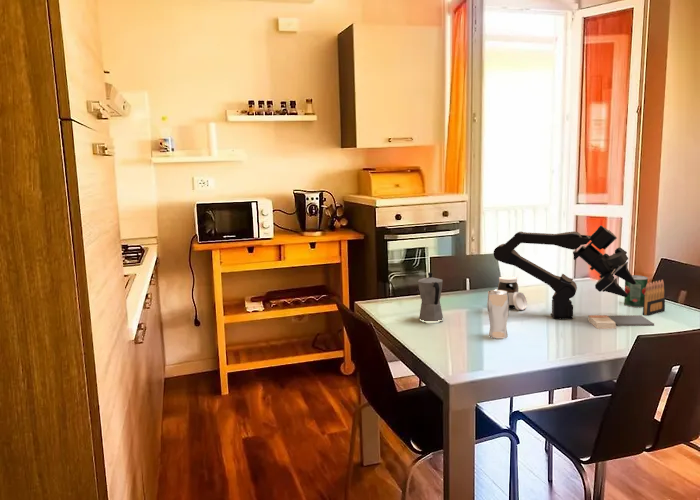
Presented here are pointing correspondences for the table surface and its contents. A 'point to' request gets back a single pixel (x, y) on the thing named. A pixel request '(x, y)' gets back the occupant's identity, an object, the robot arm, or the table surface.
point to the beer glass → (498, 313)
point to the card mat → (631, 320)
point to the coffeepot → (430, 298)
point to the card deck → (601, 321)
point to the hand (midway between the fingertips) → (631, 289)
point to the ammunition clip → (654, 298)
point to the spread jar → (512, 292)
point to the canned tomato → (636, 291)
